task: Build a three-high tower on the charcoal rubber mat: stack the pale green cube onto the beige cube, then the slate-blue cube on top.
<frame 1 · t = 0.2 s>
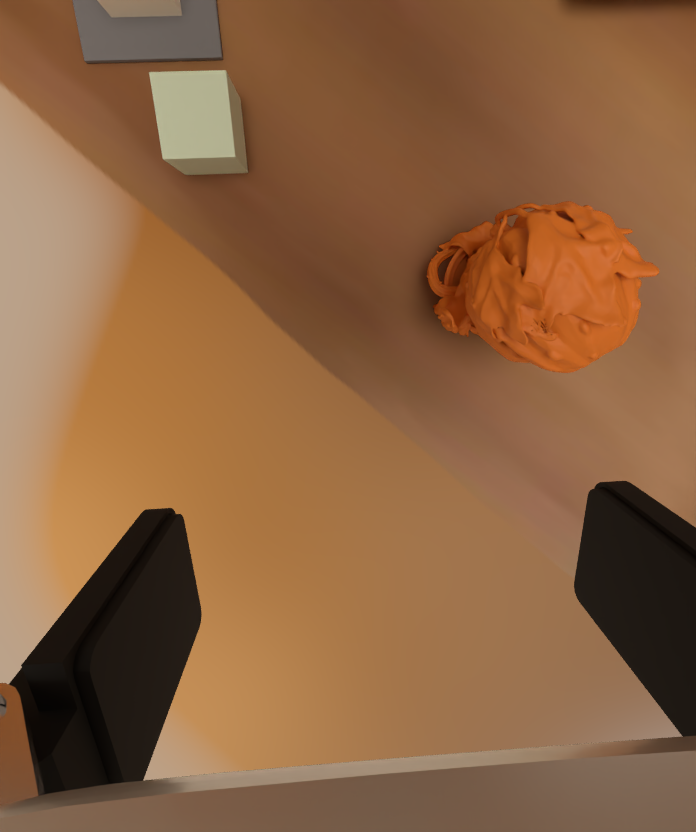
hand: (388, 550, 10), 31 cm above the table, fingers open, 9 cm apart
pale green cube: (212, 138, 33), on the table
orange sculpted figure: (478, 285, 38), on the table
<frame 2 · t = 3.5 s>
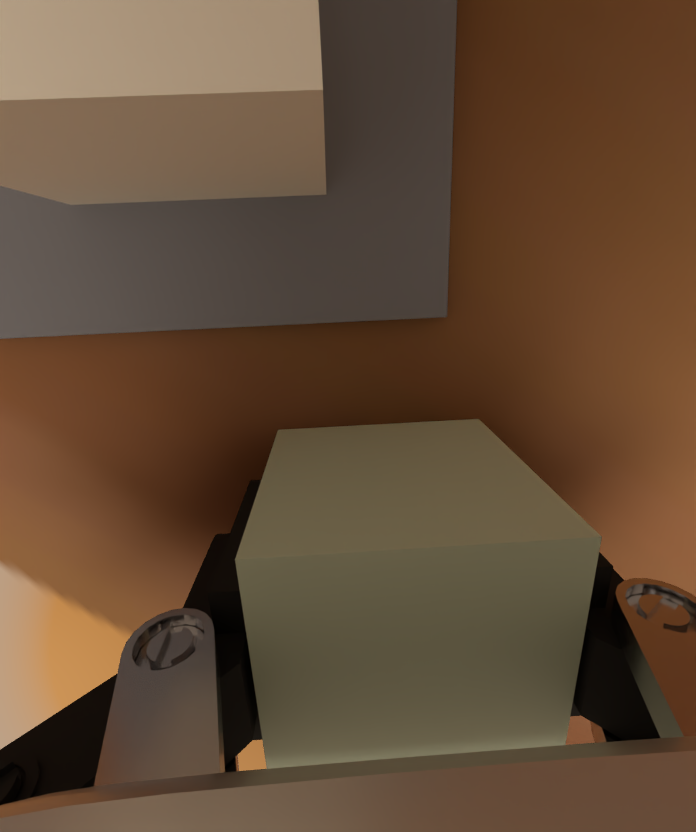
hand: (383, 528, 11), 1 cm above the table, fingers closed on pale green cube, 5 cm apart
mat: (185, 54, 8), on the table
pale green cube: (380, 512, 11), on the table, touching gripper
beige cube: (177, 43, 7), resting on mat
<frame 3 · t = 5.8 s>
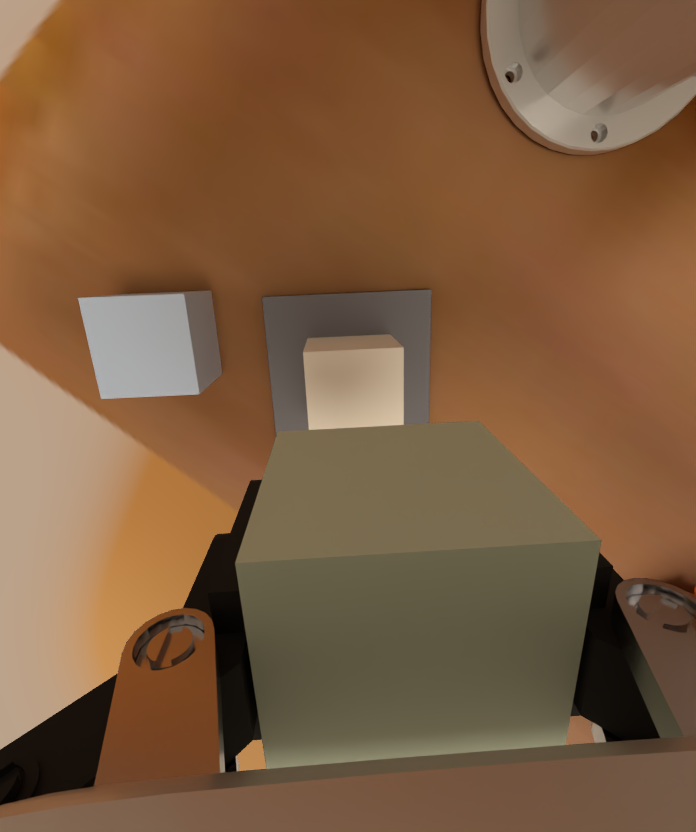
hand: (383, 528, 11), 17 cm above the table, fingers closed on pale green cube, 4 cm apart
mat: (350, 374, 27), on the table
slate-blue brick: (176, 334, 26), on the table
pale green cube: (380, 514, 11), point 16 cm above the table, touching gripper
beige cube: (350, 376, 26), resting on mat
when the fingers open (7 cm above the table, at t = 8.0 s): pale green cube stays where it is, resting on beige cube.
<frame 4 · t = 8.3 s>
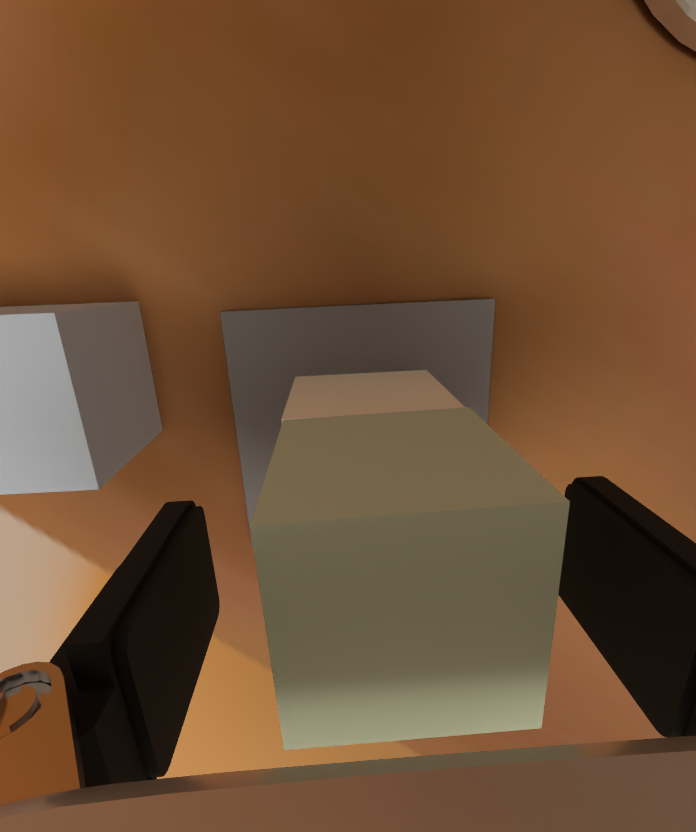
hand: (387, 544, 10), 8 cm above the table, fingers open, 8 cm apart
mat: (362, 430, 17), on the table
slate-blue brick: (85, 371, 16), on the table
pale green cube: (379, 496, 12), point 5 cm above the table, touching beige cube
beige cube: (363, 434, 17), resting on mat, touching pale green cube
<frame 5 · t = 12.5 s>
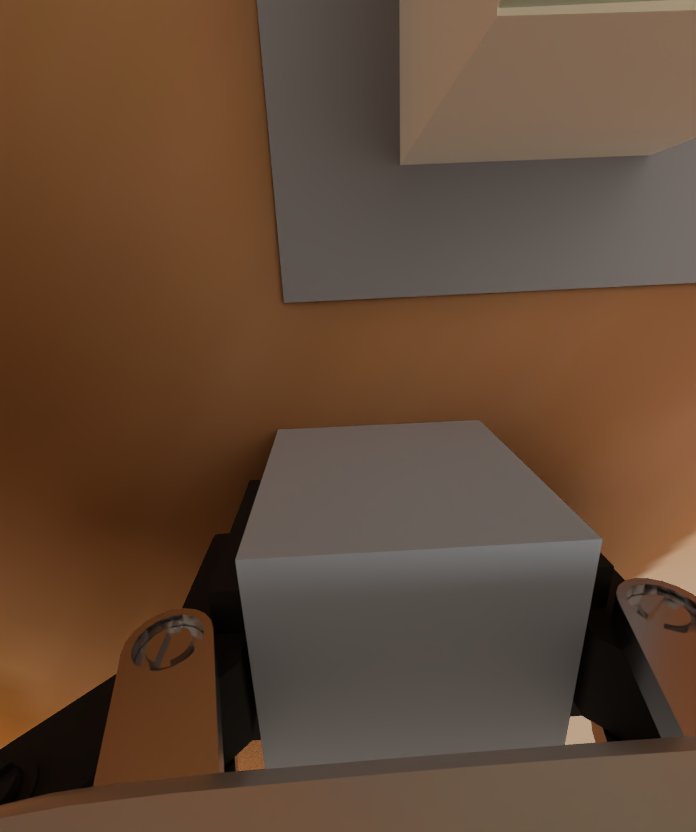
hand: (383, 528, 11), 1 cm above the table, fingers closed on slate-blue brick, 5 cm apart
mat: (528, 13, 8), on the table
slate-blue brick: (380, 512, 11), on the table, touching gripper
beige cube: (538, 0, 8), resting on mat, touching pale green cube
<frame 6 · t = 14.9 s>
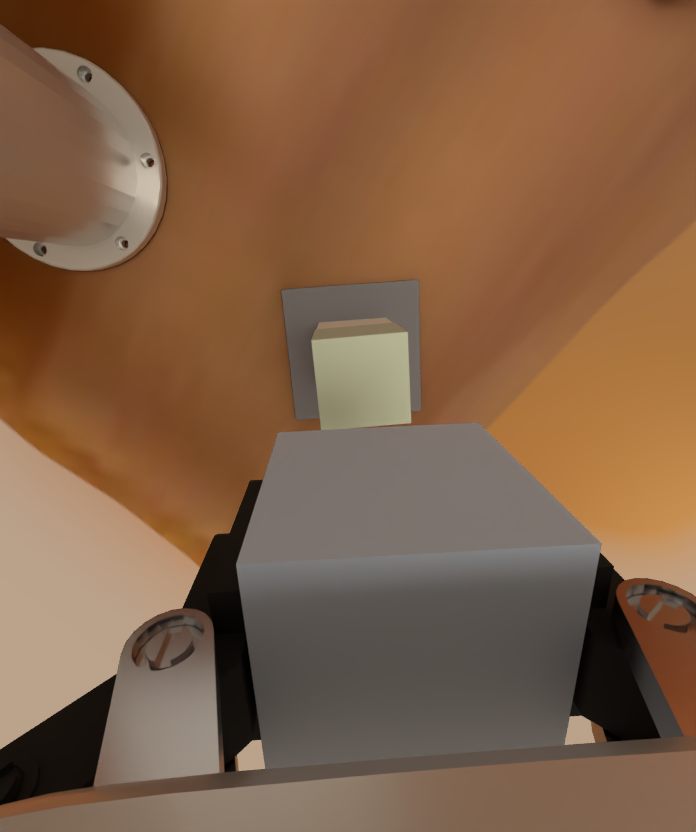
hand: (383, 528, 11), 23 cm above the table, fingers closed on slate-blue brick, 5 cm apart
mat: (354, 352, 32), on the table
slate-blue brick: (380, 515, 11), point 22 cm above the table, touching gripper
pale green cube: (357, 365, 27), point 5 cm above the table, touching beige cube
beige cube: (354, 353, 32), resting on mat, touching pale green cube
when the fingers open (12 cm above the table, at t = 17.5 s): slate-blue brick stays where it is, resting on pale green cube.
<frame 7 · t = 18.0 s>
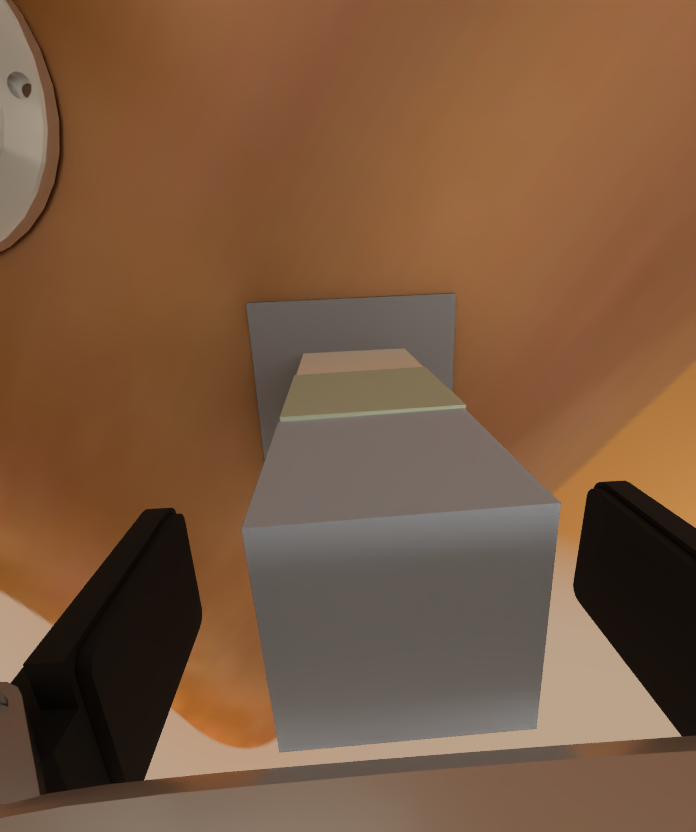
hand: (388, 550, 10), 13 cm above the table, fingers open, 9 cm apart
mat: (355, 397, 22), on the table
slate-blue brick: (375, 497, 12), point 10 cm above the table, touching pale green cube
pale green cube: (363, 432, 17), point 5 cm above the table, touching beige cube, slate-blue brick
beige cube: (355, 399, 22), resting on mat, touching pale green cube
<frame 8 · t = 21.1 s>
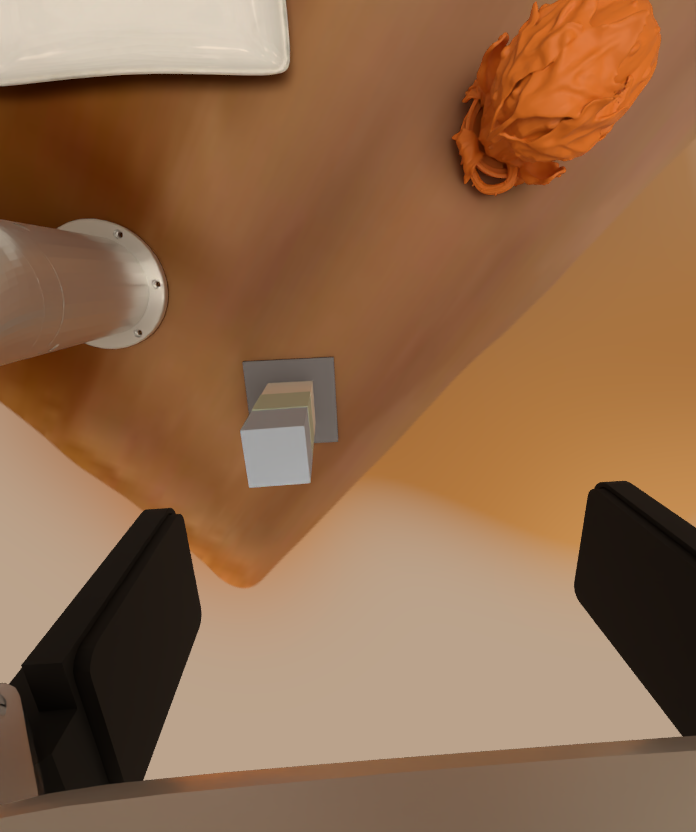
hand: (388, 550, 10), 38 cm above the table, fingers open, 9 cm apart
mat: (292, 402, 48), on the table
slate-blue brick: (282, 435, 38), point 10 cm above the table, touching pale green cube
pale green cube: (287, 416, 43), point 5 cm above the table, touching beige cube, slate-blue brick
beige cube: (292, 403, 48), resting on mat, touching pale green cube
orange sculpted figure: (496, 138, 41), on the table
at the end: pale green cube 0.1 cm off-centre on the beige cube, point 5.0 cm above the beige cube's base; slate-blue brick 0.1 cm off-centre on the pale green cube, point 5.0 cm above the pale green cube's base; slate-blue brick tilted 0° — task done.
